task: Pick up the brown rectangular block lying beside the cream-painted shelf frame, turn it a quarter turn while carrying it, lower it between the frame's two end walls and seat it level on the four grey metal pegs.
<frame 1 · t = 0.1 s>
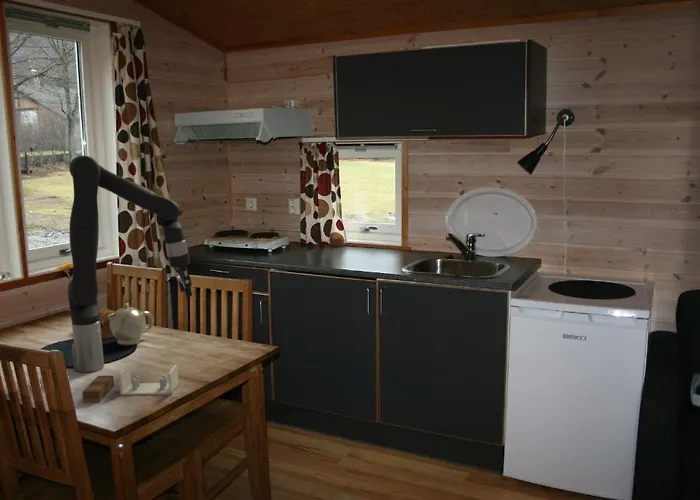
hand: (186, 293, 241), 22 cm above the table, tool pointing down, fingers open, 8 cm apart
teapot: (133, 342, 256), on the table
shelf frame: (150, 389, 208), on the table
bread: (104, 333, 267), on the table
brown rectangular block: (99, 395, 206), on the table
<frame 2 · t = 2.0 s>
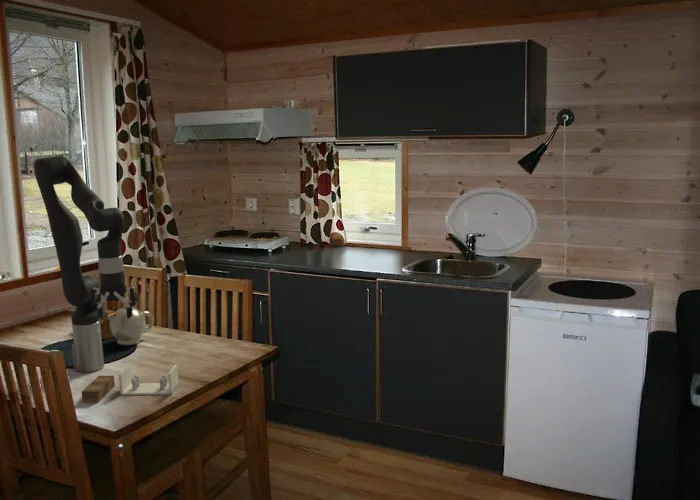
hand: (116, 318, 209), 23 cm above the table, tool pointing down, fingers open, 8 cm apart
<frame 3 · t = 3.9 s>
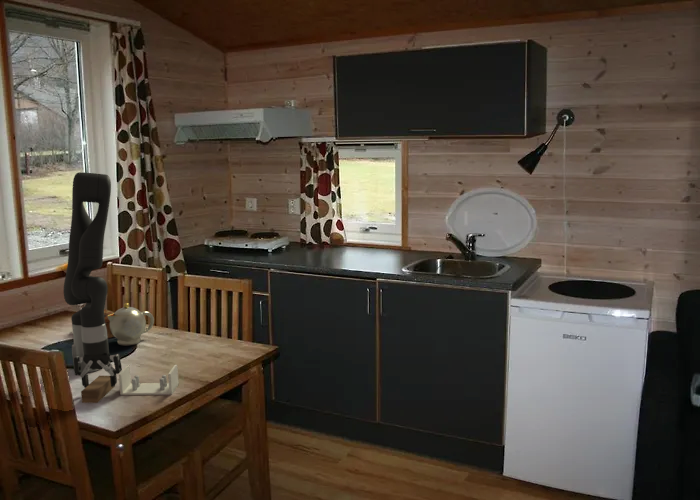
hand: (99, 386, 205), 3 cm above the table, tool pointing down, fingers open, 8 cm apart
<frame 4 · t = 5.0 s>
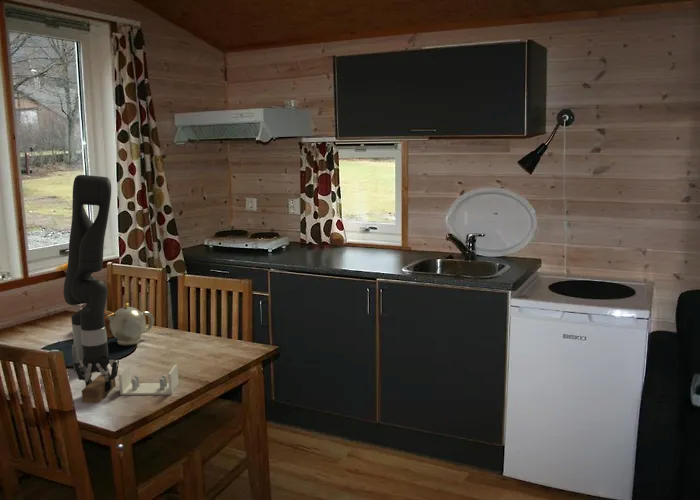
hand: (99, 391, 205), 1 cm above the table, tool pointing down, fingers closed on brown rectangular block, 5 cm apart
brown rectangular block: (99, 394, 206), on the table, touching gripper
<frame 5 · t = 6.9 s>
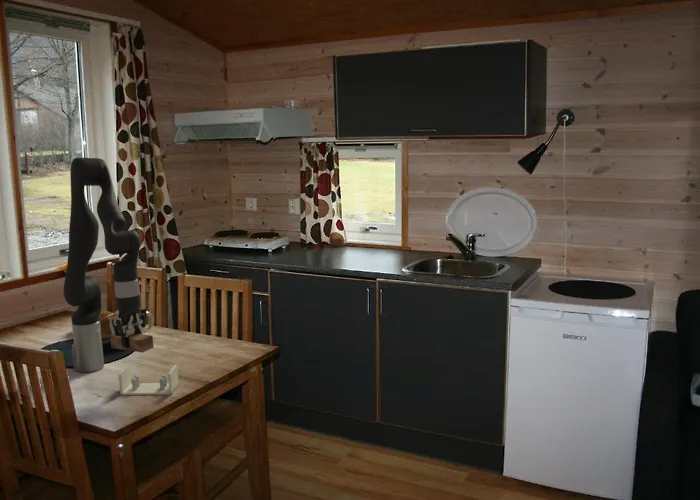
hand: (132, 344, 205), 16 cm above the table, tool pointing down, fingers closed on brown rectangular block, 5 cm apart
brown rectangular block: (132, 347, 205), point 15 cm above the table, touching gripper
when the fingers open (6 cm above the table, at t = 8.8 s): brown rectangular block stays where it is, resting on shelf frame.
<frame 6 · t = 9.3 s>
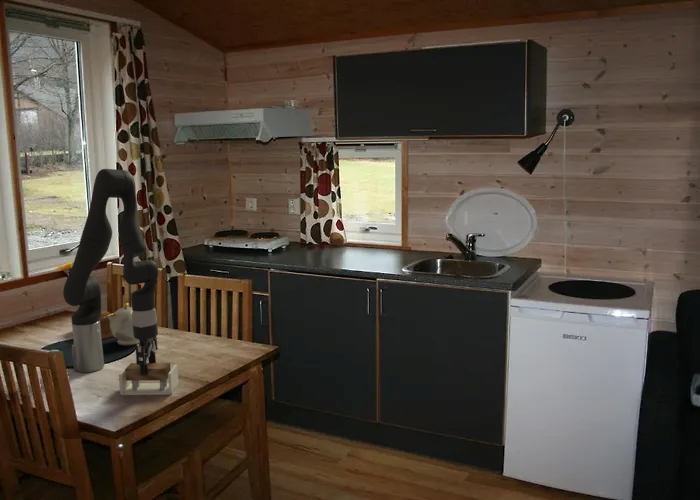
hand: (148, 370, 207), 7 cm above the table, tool pointing down, fingers open, 8 cm apart
brown rectangular block: (148, 377, 208), point 4 cm above the table, touching shelf frame
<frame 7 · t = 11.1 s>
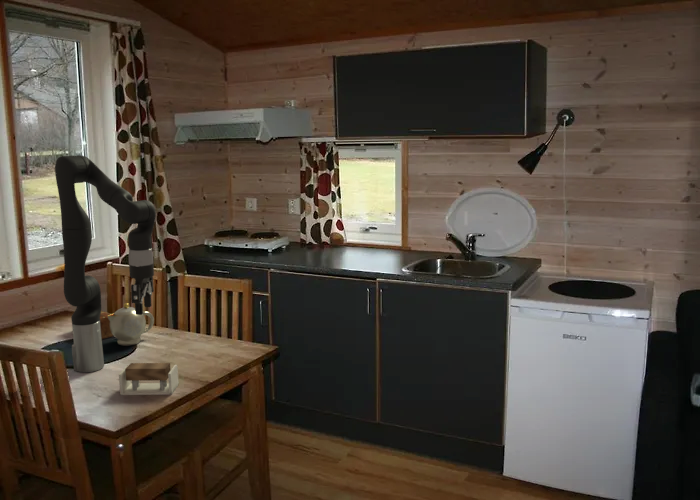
hand: (143, 310, 209), 25 cm above the table, tool pointing down, fingers open, 8 cm apart
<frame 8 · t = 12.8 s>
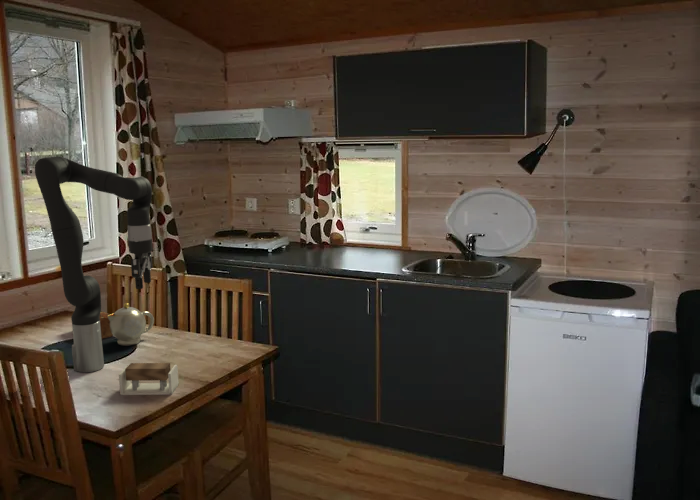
hand: (143, 285, 214), 32 cm above the table, tool pointing down, fingers open, 8 cm apart
at the end: brown rectangular block 0.1 cm off-centre on the shelf frame, point 4.2 cm above the shelf frame's base; brown rectangular block tilted 0°; the gripper is holding nothing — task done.
